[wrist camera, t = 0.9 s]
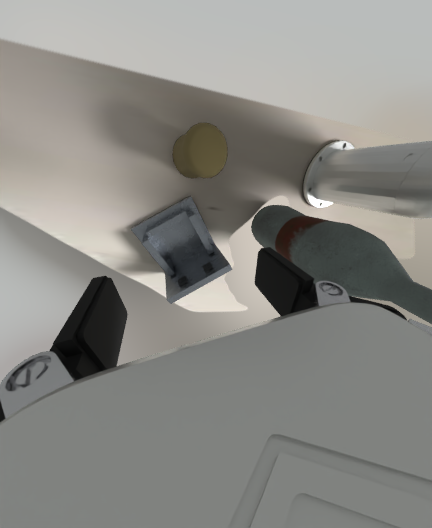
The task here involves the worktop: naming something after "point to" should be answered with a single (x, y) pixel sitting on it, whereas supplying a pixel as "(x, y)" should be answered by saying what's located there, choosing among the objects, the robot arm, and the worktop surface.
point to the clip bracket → (182, 248)
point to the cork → (200, 151)
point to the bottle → (341, 257)
